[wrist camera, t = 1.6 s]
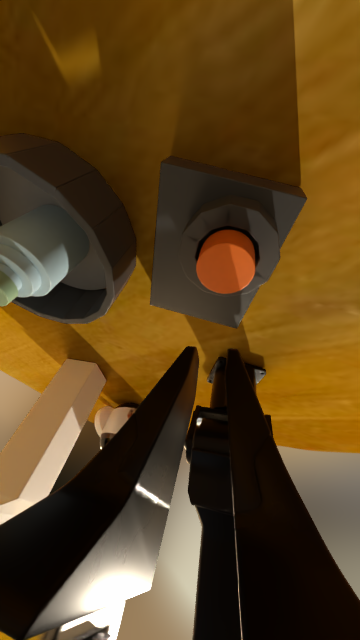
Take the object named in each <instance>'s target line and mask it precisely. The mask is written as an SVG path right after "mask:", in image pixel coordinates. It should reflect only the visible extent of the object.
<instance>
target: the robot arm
mask: <svg viewBox="0 0 360 640" xmlns="http://www.w3.org/2000/svg"><path fill="white" fill-rule="evenodd" d="M198 368H199V356H198V351H197V348H196V347H192V346H187V347H186V348H185V349H184V350H183V352H182V353H181V354H180V355H179V357H178V358H177V359H176V360H175V362H174V363H173V364H172V365H171V367H170V368H169V369H168V370H167V372H166V373H165V374H164V375H163V377H162V378H161V379H160V380H159V382H158V383H157V384H156V385H155V387H154V388H153V389H152V390H151V392H150V393H149V394H148V395H147V397H146V398H145V399H144V400H143V402H142V403H141V404H140V405H139V407H138V408H137V409H136V410H135V413H133V414H132V415H131V416H130V418H129V419H128V420H127V421H126V423H125V424H124V425H123V426H122V427H121V428H120V430H119V431H118V432H117V433H116V434H115V435H114V436H113V437H112V438H111V440H110V441H109V442H108V443H107V444H106V445H105V446H104V447H103V448H102V449H101V450H100V451H99V452H98V453H97V454H96V455H95V456H94V457H93V458H92V460H90V461H89V462H88V463H87V465H86V466H85V467H84V468H83V469H82V470H81V471H80V472H79V473H78V474H77V475H76V476H75V477H74V478H72V479H71V480H70V481H69V482H68V483H66V484H65V485H64V486H63V487H61V488H60V489H58V490H57V491H55V492H54V493H52V494H50V495H49V496H47V497H45V498H44V499H42V500H40V501H39V502H37V503H35V504H34V505H32V506H31V507H29V508H27V509H26V510H24V511H22V512H21V513H19V514H17V515H16V516H14V517H12V518H11V519H9V520H8V521H6V522H4V523H3V524H1V525H0V640H116V638H117V634H118V630H119V626H120V622H121V618H122V614H123V610H124V606H125V602H126V599H129V598H131V597H134V596H136V595H139V594H141V593H144V592H146V591H148V590H150V588H151V584H152V580H153V576H154V572H155V568H156V563H157V559H158V555H159V550H160V546H161V542H162V537H163V533H164V529H165V525H166V521H167V516H168V511H169V507H170V503H171V499H172V495H173V490H174V486H175V482H176V477H177V473H178V469H179V465H180V460H181V456H182V451H183V447H184V448H185V449H186V459H187V463H188V464H190V472H189V485H188V494H189V498H190V502H191V504H192V505H195V507H196V510H197V513H198V516H199V519H200V522H201V525H202V535H201V547H200V558H199V569H198V570H199V571H198V581H197V593H196V605H195V617H194V629H193V640H360V600H359V599H358V597H357V595H356V594H355V592H354V591H353V589H352V588H351V586H350V585H349V583H348V582H347V580H346V579H345V577H344V575H343V574H342V572H341V571H340V569H339V567H338V566H337V564H336V562H335V560H334V559H333V557H332V555H331V554H330V552H329V550H328V548H327V546H326V545H325V543H324V541H323V539H322V537H321V535H320V534H319V532H318V530H317V528H316V526H315V524H314V522H313V520H312V518H311V516H310V514H309V512H308V510H307V509H306V507H305V505H304V503H303V501H302V499H301V497H300V495H299V493H298V491H297V490H296V487H295V485H294V483H293V481H292V479H291V477H290V475H289V473H288V471H287V469H286V467H285V465H284V463H283V460H282V458H281V455H280V453H279V451H278V449H277V446H276V444H275V441H274V438H273V432H272V424H271V416H270V415H266V414H265V415H264V413H263V411H262V408H261V406H260V403H259V401H258V398H257V396H256V385H257V383H258V382H259V381H260V380H261V379H262V378H263V377H264V376H265V375H266V370H265V369H263V368H259V367H256V366H252V365H249V364H245V363H243V360H242V358H241V355H240V352H239V350H238V349H228V351H227V358H224V357H218V359H217V361H216V363H215V365H214V366H213V368H212V370H211V372H210V374H209V376H208V378H207V381H208V382H209V383H213V386H212V394H211V402H210V408H208V407H201V406H199V405H197V406H196V409H195V411H193V416H192V420H191V424H190V427H189V430H188V426H189V422H190V417H191V413H192V409H193V405H194V400H195V394H196V386H197V377H198ZM187 430H188V433H187Z"/></svg>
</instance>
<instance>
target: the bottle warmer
mask: <svg viewBox="0 0 360 640" xmlns="http://www.w3.org/2000/svg"><path fill="white" fill-rule="evenodd" d="M42 205H55V206H58V207H60V208H63V209H64V210H66V211H67V213H68V214H69V215H70V216H71V217H72V218H73V219H74V220H75V221H76V222H77V224H78V225H79V226H80V227H81V228H82V229H83V230H84V231H85V232H86V234H87V237H88V240H89V252H88V254H87V256H86V257H85V258H84V259H83V260H82V261H81V262H80V263H79V264H78V265H77V266H76V267H75V268H74V269H73V270H72V271H71V272H70V273H68V274H67V275H66V276H65V277H64V278H63V279H62V280H61V281H60V282H59V283H58V284H57V285H56V286H55V287H54V288H53V289H52V290H51V291H50V292H49V293H48V294H46V295H44V296H29V297H16V298H15V299H13V300H12V301H11V302H12V303H14V304H16V305H18V306H20V307H22V308H24V309H26V310H28V311H30V312H32V313H34V314H36V315H38V316H40V317H44V318H47V319H51V320H54V321H58V322H61V323H66V324H87V323H90V322H92V321H94V320H96V319H98V318H100V317H102V316H104V315H105V314H106V313H107V312H108V310H109V309H110V307H111V306H112V304H113V303H114V301H115V300H116V298H117V297H118V295H119V294H120V292H121V291H122V289H123V288H124V286H125V285H126V283H127V281H128V279H129V278H130V276H131V274H132V272H133V270H134V268H135V266H136V237H135V235H134V232H133V229H132V227H131V224H130V221H129V219H128V216H127V213H126V210H125V208H124V205H123V204H122V202H121V201H120V200H119V198H118V197H117V196H116V194H115V193H114V192H113V190H112V189H111V188H110V186H109V185H108V184H107V182H106V181H105V180H104V179H103V177H102V176H101V175H100V173H99V172H98V171H97V170H96V169H95V168H94V167H93V166H91V165H90V164H89V163H87V162H86V161H84V160H83V159H82V158H80V157H79V156H77V155H76V154H75V153H73V152H72V151H71V150H69V149H68V148H66V147H65V146H64V145H62V144H61V143H59V142H56V141H52V140H48V139H44V138H40V137H36V136H32V135H28V134H24V133H19V134H12V135H5V136H0V226H2V225H4V224H6V223H8V222H10V221H12V220H14V219H16V218H18V217H20V216H22V215H24V214H26V213H28V212H30V211H32V210H34V209H36V208H38V207H40V206H42ZM104 288H106V289H104Z"/></svg>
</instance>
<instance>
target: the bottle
mask: <svg viewBox="0 0 360 640" xmlns="http://www.w3.org/2000/svg"><path fill="white" fill-rule="evenodd" d="M88 252H89V240H88V237H87V234H86V232H85V231H84V230H83V229H82V228H81V227H80V226H79V225H78V224H77V222H76V221H75V220H74V219H73V218H72V217H71V216H70V215H69V214H68V213H67V211H66V210H64V209H63V208H60V207H58V206H55V205H42V206H40V207H38V208H36V209H34V210H32V211H30V212H28V213H26V214H24V215H22V216H20V217H18V218H16V219H14V220H12V221H10V222H8V223H6V224H4V225H2V226H0V306H6V305H7V304H9V303H10V302H11V301H12V300H13V299H15V298H16V297H29V296H44V295H46V294H48V293H49V292H50V291H51V290H52V289H53V288H54V287H55V286H56V285H57V284H58V283H59V282H60V281H61V280H62V279H63V278H64V277H65V276H66V275H67V274H68V273H70V272H71V271H72V270H73V269H74V268H75V267H76V266H77V265H78V264H79V263H80V262H81V261H82V260H83V259H84V258H85V257H86V256H87V254H88Z"/></svg>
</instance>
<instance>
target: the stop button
mask: <svg viewBox="0 0 360 640" xmlns="http://www.w3.org/2000/svg"><path fill="white" fill-rule="evenodd" d="M196 272H197V276H198V278H199V280H200V281H201V283H202V284H203V285H204V286H205V287H206V288H208V289H209V290H211V291H214V292H217V293H223V294H228V293H234V292H237V291H239V290H241V289H243V288H244V287H246V286H247V285H248V284H249V283H250V282H251V280H252V278H253V276H254V273H255V250H254V246H253V243H252V242H251V240H250V239H249V238H248V237H247V236H246V235H245V234H243V233H241V232H239V231H236V230H229V229H228V230H221V231H218V232H215V233H213V234H212V235H210V236H209V237H208V238H207V239H206V240H205V242H204V243H203V246H202V248H201V251H200V254H199V258H198V261H197V265H196Z"/></svg>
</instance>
